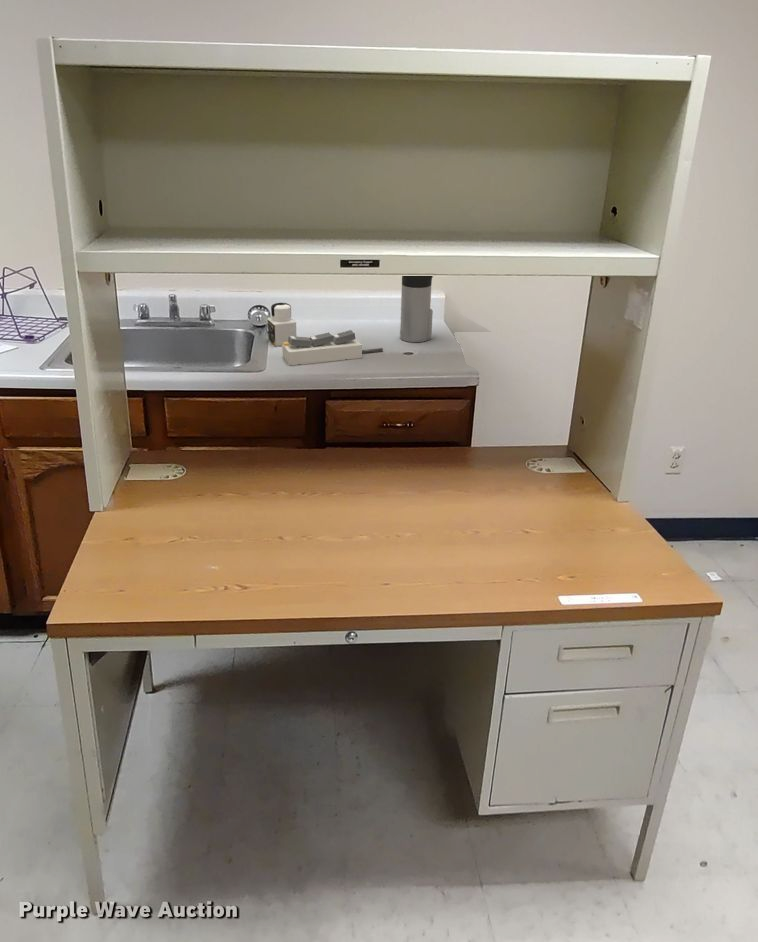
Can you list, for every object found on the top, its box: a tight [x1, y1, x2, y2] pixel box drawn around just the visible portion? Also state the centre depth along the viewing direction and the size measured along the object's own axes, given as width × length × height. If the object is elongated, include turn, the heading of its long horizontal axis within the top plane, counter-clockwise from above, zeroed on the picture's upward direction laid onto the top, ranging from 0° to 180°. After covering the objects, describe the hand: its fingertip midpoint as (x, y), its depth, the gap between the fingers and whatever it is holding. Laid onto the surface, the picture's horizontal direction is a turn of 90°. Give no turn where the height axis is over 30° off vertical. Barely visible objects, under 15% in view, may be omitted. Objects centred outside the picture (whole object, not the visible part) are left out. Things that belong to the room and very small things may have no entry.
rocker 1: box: [288, 335, 312, 347], centre depth 219 cm, size 6×4×2 cm, turn 111°
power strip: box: [281, 339, 384, 366], centre depth 224 cm, size 30×8×5 cm, turn 111°
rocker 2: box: [331, 329, 357, 344], centre depth 223 cm, size 6×4×2 cm, turn 110°
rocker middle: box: [308, 332, 333, 346], centre depth 221 cm, size 6×4×2 cm, turn 110°
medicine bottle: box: [267, 302, 298, 347], centre depth 233 cm, size 7×7×12 cm
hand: (334, 248), depth 222 cm, fingers closed
